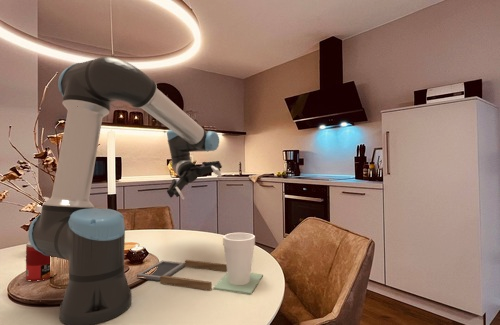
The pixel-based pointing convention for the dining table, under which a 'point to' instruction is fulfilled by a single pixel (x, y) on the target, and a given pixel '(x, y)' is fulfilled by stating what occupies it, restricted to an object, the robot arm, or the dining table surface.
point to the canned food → (36, 264)
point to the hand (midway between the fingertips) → (201, 184)
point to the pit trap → (162, 270)
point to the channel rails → (191, 282)
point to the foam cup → (239, 256)
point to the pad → (244, 289)
